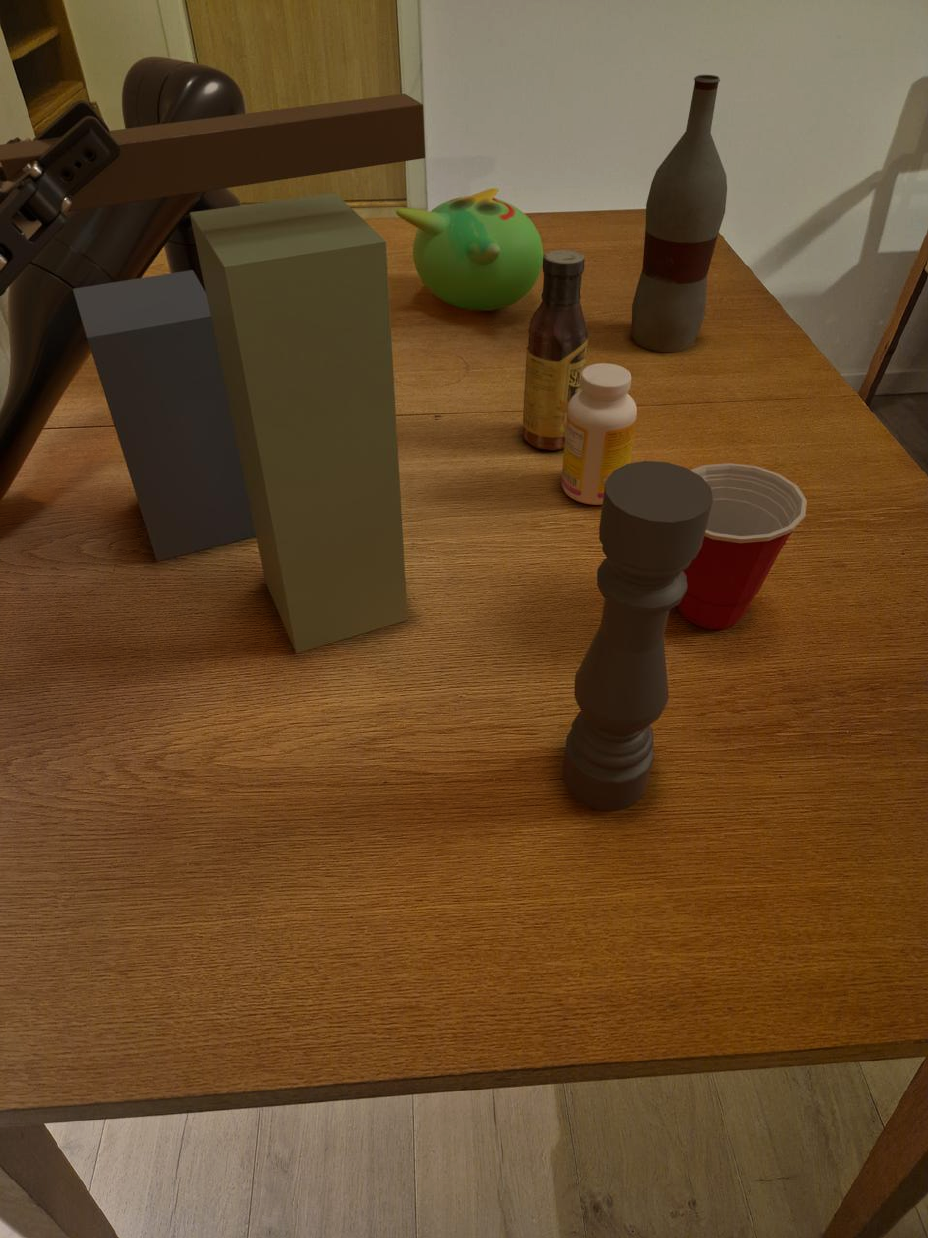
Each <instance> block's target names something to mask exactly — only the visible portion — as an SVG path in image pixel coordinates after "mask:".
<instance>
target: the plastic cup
mask: <svg viewBox="0 0 928 1238" xmlns="http://www.w3.org/2000/svg"><path fill="white" fill-rule="evenodd" d="M690 470H691V471H692V472H694V473H696V474H698V475H699V476H701V477H702V478H703V479H704V480H705V481H706V483H707V484H708V485H709V486H710V487H711V491H712V497H713V502H712V506H711V510H710V514H709V519H708V523H707V527H706V531H705V535H704V539H703V543H702V547H701V549H700V551H699V552H698V554H697V556H696V558H695V559H693V560H692V561H691V563H690V565H689V566H688V568H687V569H685V570H683V572H684V573H685V575H686V578H687V591H686V593H685V595H684V596H683V598H682V600H681V602H680V603H679V604H678V605H677V609H678V612H679V614H680V615H681V616H682V617H683V618H684V619H685V620H686V621H688V622H689V623H691V624H693V625H695V626H697V627H700V628H703V629H708V630H726V629H728V628H731V627H734V626H735V625H736V624H737V623H738V622H739V621H740V620H741V619H742V618H743V617H744V616H745V614H747V613H746V612H747V611H748V609H749V607H750V605H751V604H752V602H753V600H754V598H755V596H756V595H757V594H758V593H759V591H760V590H761V587H762V586H763V584H764V582H765V581H766V578H767V577H768V575H769V574H770V571H771V569H772V567H773V566H774V563H775V562H776V560H777V558H778V556H779V554H780V553H781V551H782V549H783V548H784V546H785V545H786V543H787V541H788V539H789V537H790V536H791V535H792V534H793V531H794V530H795V528H797V526H799V525H800V523H801V522H802V521H804V519H805V517H806V515H807V505H808V499H807V498H806V496H805V495H804V494H803V492H802V490H801V489H800V488H799V486H798V485H797V484H795V483H794V482H793V481H791V480H789V479H788V478H787V477H785V476H783V475H782V474H781V473H778V472H775V471H771V470H769V469H766V468H762V467H760V466H757V465H748V464H740V463H732V462H727V463H714V464H704V465H701V466H698V467H695V468H692V469H690Z"/></svg>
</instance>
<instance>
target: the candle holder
mask: <svg viewBox="0 0 928 1238" xmlns="http://www.w3.org/2000/svg"><path fill="white" fill-rule="evenodd" d="M691 470H692V469H689V468H687V467H685V466H681V465H678V464H674V463H671V462H667V461H657V460H656V461H654V460H643V461H636V462H630V464H626V465H624V466H622V467H620V468H618V469H616V470H614V471H613V472H612V473H611V475H610V476H609V477H608V479H607V480H606V482H605V490H604V497H603V504H602V505H601V510H600V511H601V513H600V517H599V518H600V519H599V527H598V538H599V541H600V544H601V545H602V552H603V554H604V556H605V558H604V559H603V560H602V561H601V563H600V564H599V566H598V568H597V569H596V586H597V588H598V590H599V592H600V594H601V595H602V597H603V599H604V602H603V608H602V614H601V621H600V625H599V626H598V629H597V631H596V633H595V635H594V637H593V639H592V641H591V642H590V645H589V646H588V649H587V651H586V653H585V655H584V657H583V659H582V661H581V662H580V665H579V667H578V669H577V671H576V673H575V674H574V675H575V676H574V686H573V687H574V688H573V689H574V690H573V691H574V693H573V696H574V699H575V702H576V704H577V706H578V708H579V710H580V711H579V712H578V713H577V714H576V716H575V717H574V720H573V721H572V723H571V728H570V730H569V732H568V733H567V735H566V738H565V747H564V752H563V753H564V754H563V755H564V756H563V761H562V776H561V777H562V780H563V782H564V785H565V788H566V789H567V791H568V792H569V794H570V795H571V796H573V797H574V798H575V799H576V800H577V801H578V802H579V803H580V804H582V805H585V806H587V807H589V808H592V809H594V810H598V811H607V812H616V811H620V810H624V809H628V808H631V806H633V805H634V804H635V803H637V802H638V801H640V800H641V799H642V797H643V795H644V793H645V791H646V789H647V788H648V783H649V779H650V776H651V772H652V768H653V763H654V759H655V753H654V744H655V743H654V730H653V728H652V726H651V725H652V724H654V723H655V722H656V721H658V720H659V719H660V718H661V716H662V714H663V713H664V710H665V708H666V707H667V704H668V700H669V697H670V696H669V684H668V683H669V682H668V673H667V663H666V662H667V661H666V650H665V649H666V648H665V638H664V637H665V634H666V633H665V632H666V628H667V624H668V620H669V615H670V611H671V610H672V609H673V608H675V607H676V606H677V605H678V604H679V603H680V602H681V600H682V598H683V596H684V595H685V593H686V591H687V578H686V575H685V573H684V572H683V570H685V569H687V568H688V566H689V565H690V563H691V561H692V560H693V559H695V558H696V556H697V554H698V552H699V551H700V549H701V547H702V543H703V539H704V535H705V531H706V527H707V523H708V519H709V514H710V510H711V506H712V502H713V497H712V491H711V487H710V486H709V485H708V484H707V483H706V481H705V480H704V479H703V478H702V477H701V476H699V475H698V474H696V473H694V472H692V471H691ZM677 607H678V606H677Z"/></svg>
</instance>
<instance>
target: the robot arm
mask: <svg viewBox="0 0 928 1238" xmlns="http://www.w3.org/2000/svg"><path fill="white" fill-rule="evenodd" d="M121 90H122V91H121V111H122V118H123V124H124V129H129V128H137V127H144V126H152V125H160V124H168V123H176V122H184V121H192V120H200V119H208V118H216V117H224V116H231V115H239V114H247V105H246V100H245V96H244V93H243V91H242V89H241V87H240V86H239V85H238V83H237V82H236V81H235V79H234V78H232V77H231V76H230V75H229V74H227V73H226V72H225V71H222V70H220V69H218V68H216V67H214V66H210V65H206V64H202V63H199V62H194V61H193V62H192V61H188V60H187V61H186V60H181V59H175V58H169V57H164V56H146V57H142V58H141V59H139V60H137V61H136V62H134V63H133V64H132V65H131V67H130V68H129V69H128V71H127V73H126V74H125V77H124V81H123V85H122V89H121ZM108 131H111V129H110V128H109V126H108V125H107V124H106V122H105V121H104V120H103V119H102V117H101V115H99V113H97V112H96V110H95V109H94V108H93V106H92V105H91V104H90V103H89V102H87V101H86V100H84V99H79V100H77V101H75V102H74V103H73V104H71V106H69V107H68V108H67V109H65V111H63V113H61V114H60V115H59V116H58V117H56V119H54V120H53V121H52V122H51V123H50V124H49V125H48V126H47V127H45V128H44V129H43V130H42V131H41V132H39V134H37V135H36V136H35V137H34V138H32V139H31V138H30V137H28V138H25V139H21V138H20V137H19V136H18V137H15V138H13V139H10V140H8V141H7V142H6V143H5V144H10V143H18V142H26V141H34V140H42V139H49V138H57V137H61V138H60V139H59V140H57V141H56V142H55V143H54V144H53V145H52V146H51V147H49V148H48V149H47V150H46V151H45V152H44V153H42V154H41V155H40V156H39V157H38V158H39V161H40V162H41V163H42V164H43V165H44V166H43V167H42V166H41V165H40V164H39V163H38V162H37V161H33V162H31V163H27V164H25V165H24V166H23V168H22V170H20V171H19V172H18V173H17V174H15V175H14V176H13V177H12V178H10V179H9V180H8V181H7V179H6V176H5V173H4V170H3V168H2V165H1V162H0V297H2V296H4V295H5V293H6V292H7V289H8V293H7V320H8V321H7V322H8V323H7V324H8V338H9V348H10V349H9V351H10V352H9V353H10V356H9V357H10V359H9V360H10V362H9V363H10V365H9V377H8V385H7V390H6V394H5V397H4V399H3V402H2V406H1V407H0V503H1V502H2V500H3V499H4V497H5V496H6V495H7V493H8V491H9V490H10V488H11V487H12V485H13V483H14V482H15V480H16V478H17V476H18V475H19V473H20V471H21V469H22V468H23V467H24V464H25V462H26V461H27V458H28V457H29V455H30V454H31V451H32V449H33V447H34V446H35V444H36V442H37V441H38V439H39V437H40V435H41V434H42V432H43V430H44V428H45V426H46V425H47V423H48V421H49V420H50V418H51V416H52V414H53V412H54V411H55V409H56V407H57V406H58V404H59V402H60V401H61V399H62V397H63V396H64V394H65V392H66V391H67V389H68V388H69V386H70V385H71V384H72V382H73V381H74V379H75V378H76V376H77V375H78V374H79V372H80V371H81V369H82V368H83V366H84V365H85V363H86V362H87V360H88V359H89V357H90V356H91V355H92V352H91V349H90V346H89V343H88V340H87V336H86V333H85V329H84V326H83V323H82V319H81V316H80V312H79V309H78V306H77V302H76V299H75V295H74V292H73V289H75V288H81V287H87V286H94V285H100V284H107V283H113V282H119V281H126V280H132V279H138V278H144V275H145V274H146V272H147V271H148V269H149V268H150V267H151V266H152V264H153V263H154V261H155V260H156V258H157V257H158V255H160V253H161V251H162V250H163V249H164V252H165V257H166V261H167V265H168V268H169V269H168V270H169V274H170V273H176V272H183V271H189V270H193V271H194V273H195V275H196V276H197V278H198V280H199V282H200V284H201V285H202V287H203V289H204V291H205V292H206V290H205V285H204V281H203V276H202V271H201V266H200V261H199V256H198V251H197V247H196V242H195V237H194V232H193V227H192V222H191V217H190V212H197V211H205V210H212V209H219V208H227V207H234V206H241V205H243V204H242V202H241V200H240V199H239V198H238V196H237V195H236V194H235V193H233V192H232V191H231V190H230V189H229V188H224V189H217V190H211V191H204V192H197V193H191V194H184V195H177V196H171V197H164V198H157V199H151V200H144V201H138V202H131V203H124V204H118V205H111V206H104V207H98V208H91V209H84V210H78V211H71V212H66V211H68V210H69V208H70V206H71V204H72V202H73V200H72V199H71V198H70V197H69V195H68V194H69V193H70V194H71V195H72V196H73V195H75V194H76V193H77V192H78V191H79V190H80V189H82V188H83V187H84V186H85V185H86V184H87V183H89V182H90V181H91V180H92V179H93V178H94V177H96V176H97V175H98V174H99V173H100V172H101V171H103V170H104V169H105V168H106V167H107V166H108V165H110V164H111V163H112V162H113V161H114V160H115V159H117V158H118V156H119V154H120V149H119V146H118V144H117V142H116V141H115V140H114V139H113V137H112V136H111V135H110V134H109V133H108ZM23 205H24V206H25V207H26V208H27V209H28V210H29V211H28V210H27V209H26V208H25V207H24V206H23Z"/></svg>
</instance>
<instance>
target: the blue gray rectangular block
mask: <svg viewBox="0 0 928 1238" xmlns="http://www.w3.org/2000/svg"><path fill="white" fill-rule="evenodd" d="M73 292H74V295H75V299H76V302H77V306H78V309H79V312H80V316H81V319H82V323H83V326H84V329H85V333H86V336H87V340H88V343H89V346H90V349H91V352H92V353H91V357H92V358H93V361H94V366H95V368H96V371H97V374H98V377H99V381H100V384H101V387H102V391H103V394H104V397H105V400H106V404H107V407H108V410H109V413H110V416H111V420H112V422H113V423H112V424H113V425H114V426H113V427H114V430H115V432H116V435H117V439H118V442H119V446H120V448H121V451H122V453H123V454H122V455H123V459H124V462H125V464H126V468H127V470H128V474H129V477H130V481H131V483H132V487H133V490H134V493H135V496H136V499H137V503H138V505H139V509H140V512H141V515H142V519H143V522H144V526H145V528H146V532H147V534H148V537H149V542H150V544H151V547H152V550H153V553H154V557H155V560H156V562H160V561H164V560H169V559H172V558H177V557H180V556H185V555H188V554H191V553H192V554H193V553H196V552H199V551H200V552H201V551H204V550H208V549H213V548H216V547H219V546H220V547H221V546H223V545H227V544H232V543H235V542H239V541H242V540H243V541H244V540H247V539H251V538H256V534H255V529H254V524H253V519H252V514H251V509H250V504H249V500H248V495H247V490H246V485H245V480H244V475H243V470H242V466H241V461H240V456H239V451H238V446H237V441H236V436H235V431H234V427H233V422H232V417H231V412H230V407H229V402H228V397H227V393H226V388H225V383H224V378H223V373H222V368H221V363H220V358H219V354H218V349H217V344H216V339H215V334H214V329H213V324H212V320H211V315H210V310H209V305H208V300H207V295H206V292H205V291H204V289H203V287H202V285H201V284H200V282H199V280H198V278H197V276H196V275H195V273H194V271H193V270H189V271H183V272H176V273H170V272H169V273H164V274H158V275H152V276H146V277H145V276H144V277H142V278H138V279H132V280H126V281H119V282H113V283H107V284H100V285H94V286H87V287H81V288H75V289H73Z"/></svg>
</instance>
